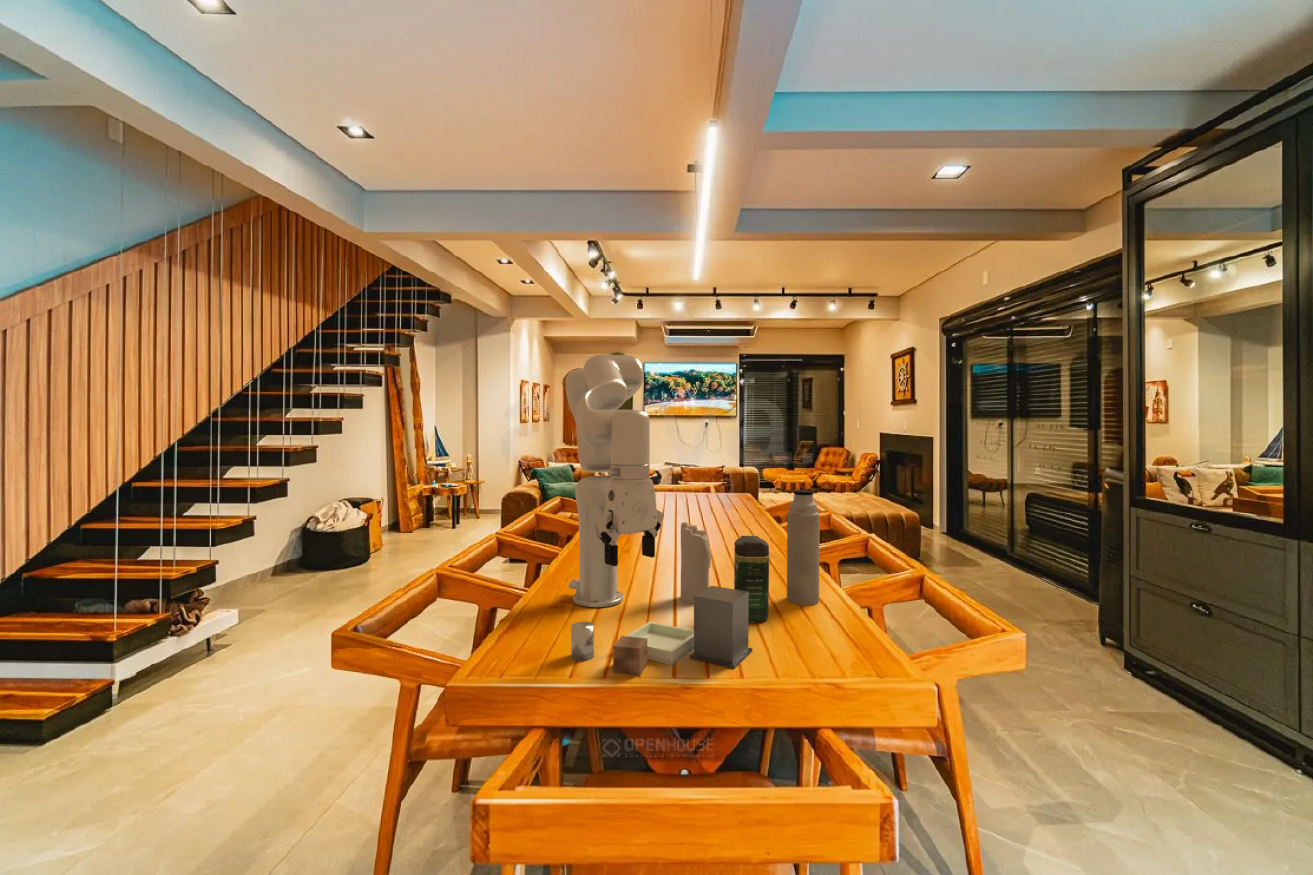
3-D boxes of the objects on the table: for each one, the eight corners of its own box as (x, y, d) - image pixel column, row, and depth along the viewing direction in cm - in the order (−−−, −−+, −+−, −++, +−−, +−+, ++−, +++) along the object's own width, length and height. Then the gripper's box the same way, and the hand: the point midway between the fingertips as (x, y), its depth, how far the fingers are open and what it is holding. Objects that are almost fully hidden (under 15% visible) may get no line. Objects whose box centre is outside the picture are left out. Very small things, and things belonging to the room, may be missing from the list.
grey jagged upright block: (732, 607, 141) (732, 525, 141) (677, 602, 145) (677, 522, 145) (736, 598, 148) (737, 520, 148) (684, 593, 152) (684, 518, 152)
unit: (689, 658, 111) (689, 596, 110) (709, 642, 119) (709, 584, 118) (734, 668, 106) (734, 603, 106) (752, 651, 114) (752, 591, 114)
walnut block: (613, 673, 104) (613, 645, 104) (622, 662, 109) (621, 635, 109) (639, 676, 103) (639, 648, 103) (647, 664, 108) (647, 638, 108)
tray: (618, 652, 114) (618, 639, 113) (649, 633, 124) (649, 621, 124) (672, 665, 108) (672, 651, 107) (700, 643, 118) (700, 631, 118)
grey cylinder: (566, 658, 111) (566, 627, 111) (580, 650, 115) (580, 620, 115) (584, 662, 109) (584, 631, 109) (598, 654, 113) (598, 624, 112)
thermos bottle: (792, 593, 152) (793, 487, 151) (823, 598, 148) (823, 489, 147) (782, 601, 145) (782, 491, 145) (813, 607, 141) (814, 493, 140)
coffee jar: (771, 623, 130) (772, 541, 129) (736, 623, 130) (736, 541, 129) (765, 609, 139) (765, 533, 139) (732, 609, 140) (732, 533, 139)
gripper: (608, 477, 104) (608, 572, 105) (674, 471, 116) (674, 556, 117) (582, 475, 109) (583, 564, 110) (649, 469, 121) (649, 550, 122)
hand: (630, 560), depth 113 cm, fingers open, 9 cm apart
